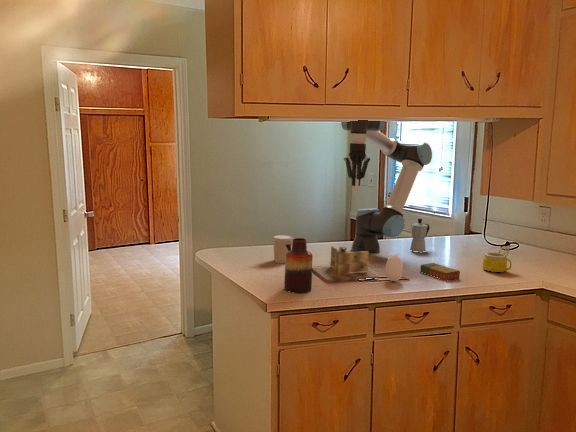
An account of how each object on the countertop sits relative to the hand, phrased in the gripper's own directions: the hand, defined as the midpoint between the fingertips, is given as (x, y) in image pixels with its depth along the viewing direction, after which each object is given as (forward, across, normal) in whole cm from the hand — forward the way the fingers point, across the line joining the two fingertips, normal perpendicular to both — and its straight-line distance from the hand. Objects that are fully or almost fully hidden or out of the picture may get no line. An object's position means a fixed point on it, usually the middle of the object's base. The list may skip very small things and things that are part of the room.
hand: (355, 192), depth 244 cm
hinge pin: (+32, +15, +22) cm, 42 cm away
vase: (+35, +40, +36) cm, 64 cm away
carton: (+35, -29, +30) cm, 55 cm away
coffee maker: (+35, -48, -17) cm, 62 cm away
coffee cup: (+35, +33, -9) cm, 49 cm away
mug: (+35, -61, +29) cm, 76 cm away
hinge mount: (+34, +13, +20) cm, 42 cm away
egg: (+35, -4, +34) cm, 49 cm away
